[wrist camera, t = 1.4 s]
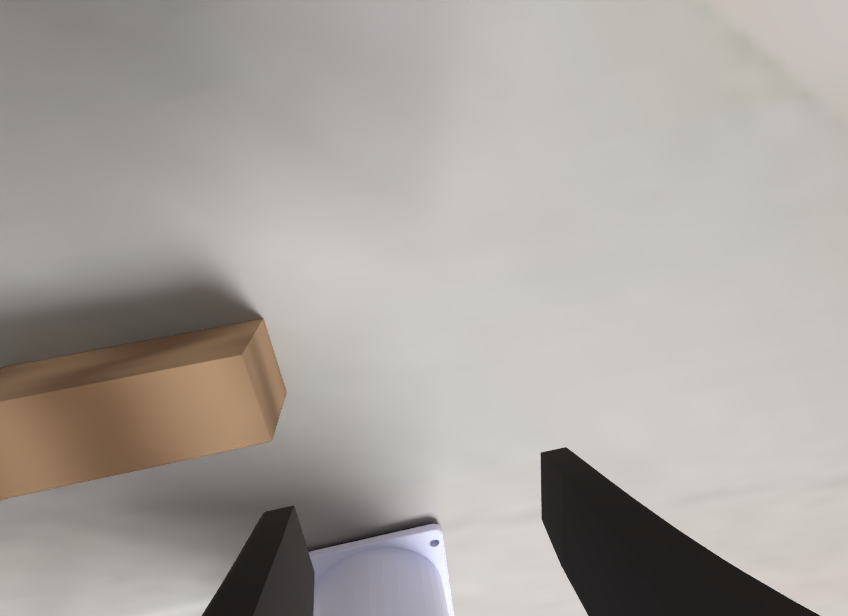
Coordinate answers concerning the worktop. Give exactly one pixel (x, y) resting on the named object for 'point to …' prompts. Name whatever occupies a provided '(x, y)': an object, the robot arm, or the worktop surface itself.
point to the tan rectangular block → (136, 406)
